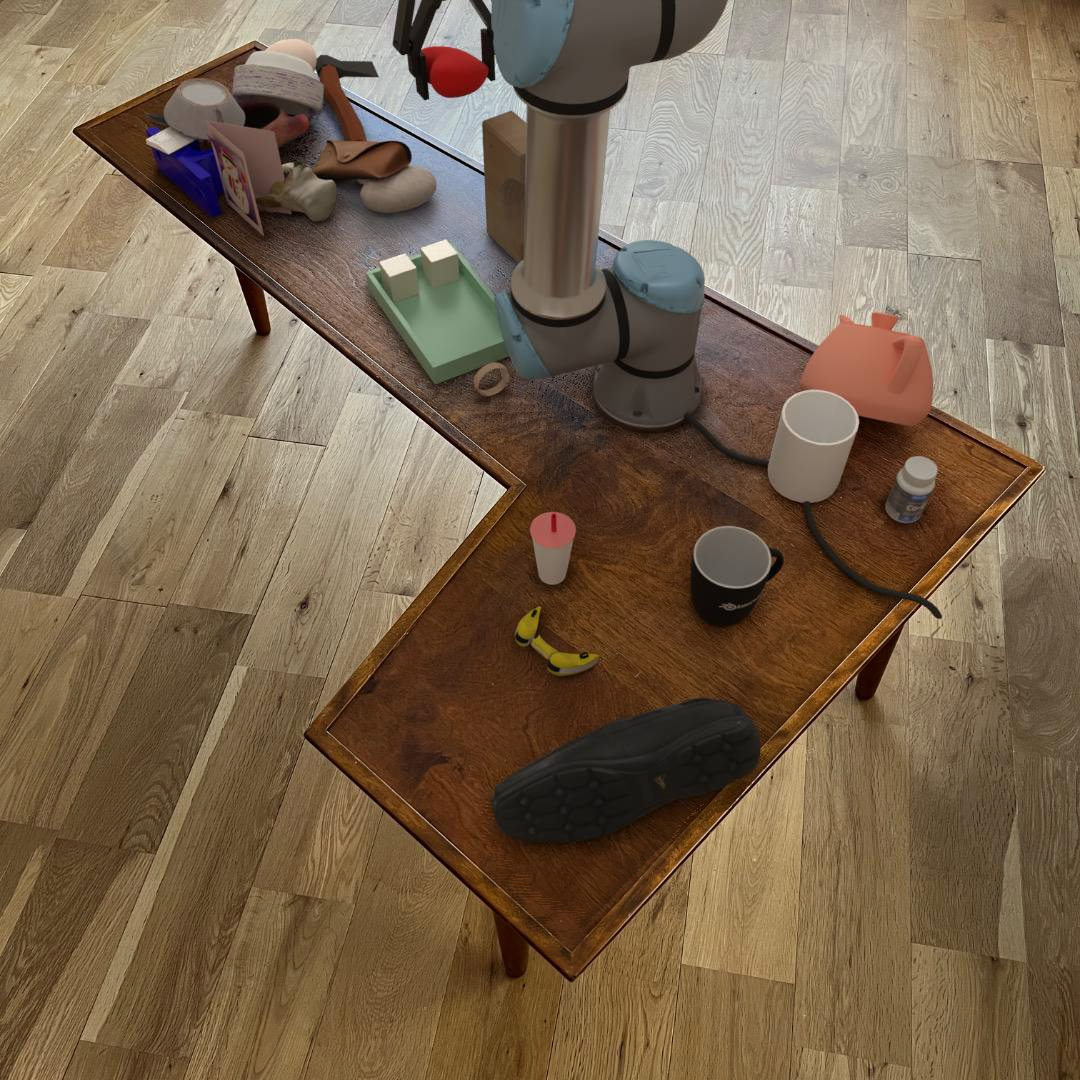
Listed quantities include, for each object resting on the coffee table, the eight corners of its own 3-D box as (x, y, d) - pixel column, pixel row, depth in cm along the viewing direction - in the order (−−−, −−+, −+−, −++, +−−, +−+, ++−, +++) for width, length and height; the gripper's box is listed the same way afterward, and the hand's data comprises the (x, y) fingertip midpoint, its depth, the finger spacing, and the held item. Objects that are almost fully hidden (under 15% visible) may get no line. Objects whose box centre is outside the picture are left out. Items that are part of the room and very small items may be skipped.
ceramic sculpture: (313, 184, 168) (235, 159, 172) (316, 236, 174) (241, 211, 178) (353, 161, 175) (277, 137, 180) (355, 212, 181) (282, 188, 185)
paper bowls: (340, 76, 194) (334, 122, 195) (261, 67, 197) (256, 112, 198) (305, 48, 179) (299, 99, 180) (220, 39, 182) (215, 89, 183)
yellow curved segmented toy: (499, 640, 128) (506, 618, 126) (534, 622, 133) (542, 600, 131) (559, 693, 124) (568, 671, 122) (594, 672, 128) (603, 651, 126)
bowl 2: (224, 183, 184) (213, 140, 177) (210, 142, 191) (198, 99, 185) (317, 162, 187) (310, 120, 181) (300, 123, 194) (292, 81, 188)
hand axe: (409, 156, 191) (371, 70, 209) (411, 138, 189) (372, 52, 206) (342, 157, 187) (308, 69, 205) (343, 139, 185) (309, 51, 202)
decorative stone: (372, 228, 176) (368, 202, 172) (355, 197, 181) (350, 171, 177) (446, 209, 180) (444, 182, 176) (427, 179, 184) (425, 153, 180)
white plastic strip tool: (235, 118, 184) (234, 112, 183) (168, 155, 175) (167, 149, 174) (213, 108, 185) (212, 102, 184) (146, 144, 177) (144, 137, 176)
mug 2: (785, 513, 141) (803, 453, 132) (746, 447, 148) (760, 385, 139) (851, 495, 143) (873, 434, 133) (809, 431, 150) (827, 369, 140)
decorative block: (552, 257, 172) (553, 144, 156) (521, 270, 170) (520, 157, 155) (515, 220, 178) (513, 108, 162) (485, 232, 176) (480, 119, 160)
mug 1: (705, 647, 129) (716, 598, 121) (670, 589, 134) (679, 539, 126) (793, 614, 132) (810, 564, 124) (756, 558, 137) (770, 508, 129)
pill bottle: (902, 530, 140) (920, 487, 133) (876, 505, 142) (893, 462, 135) (929, 514, 141) (949, 472, 134) (903, 490, 144) (921, 447, 137)
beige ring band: (510, 392, 154) (509, 366, 150) (480, 404, 153) (478, 378, 149) (501, 380, 156) (501, 354, 152) (471, 391, 154) (470, 366, 150)
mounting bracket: (145, 130, 181) (177, 116, 183) (157, 168, 187) (189, 154, 189) (200, 179, 173) (233, 164, 175) (211, 217, 178) (243, 203, 181)
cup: (561, 597, 133) (562, 538, 124) (522, 580, 135) (521, 520, 125) (581, 566, 136) (584, 506, 126) (543, 549, 138) (544, 488, 128)
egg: (241, 59, 198) (292, 24, 199) (268, 102, 203) (317, 69, 205) (255, 63, 191) (308, 27, 193) (282, 108, 196) (333, 73, 198)
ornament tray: (525, 350, 160) (524, 333, 157) (434, 384, 155) (433, 367, 153) (453, 259, 172) (452, 242, 169) (368, 289, 168) (365, 272, 165)
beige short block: (419, 294, 166) (416, 267, 162) (393, 303, 165) (389, 277, 161) (408, 279, 168) (405, 252, 164) (382, 288, 167) (378, 261, 163)
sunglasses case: (301, 177, 183) (303, 135, 182) (331, 183, 189) (333, 142, 187) (383, 179, 174) (385, 134, 172) (411, 184, 179) (413, 142, 178)
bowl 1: (145, 95, 173) (147, 122, 177) (219, 125, 173) (220, 151, 177) (188, 59, 181) (189, 86, 185) (259, 88, 181) (258, 114, 185)
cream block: (459, 280, 168) (457, 253, 164) (433, 289, 167) (431, 262, 163) (448, 265, 170) (446, 238, 166) (422, 274, 169) (419, 247, 165)
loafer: (506, 869, 110) (489, 816, 120) (774, 800, 115) (737, 754, 124) (489, 781, 107) (473, 733, 116) (766, 714, 111) (729, 673, 121)
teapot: (766, 393, 157) (789, 299, 154) (873, 415, 160) (898, 323, 157) (834, 411, 133) (863, 301, 130) (959, 437, 135) (990, 330, 133)
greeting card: (222, 205, 180) (200, 122, 168) (261, 187, 183) (242, 105, 171) (259, 238, 175) (238, 155, 163) (298, 220, 178) (281, 137, 166)
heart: (470, 73, 164) (408, 78, 160) (472, 35, 160) (408, 39, 156) (504, 101, 156) (440, 108, 152) (507, 62, 152) (441, 67, 149)
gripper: (509, -107, 146) (512, 54, 164) (352, -70, 139) (374, 93, 157) (536, -85, 142) (536, 77, 159) (376, -47, 135) (395, 119, 153)
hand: (456, 85), depth 158 cm, fingers closed on heart, 10 cm apart
